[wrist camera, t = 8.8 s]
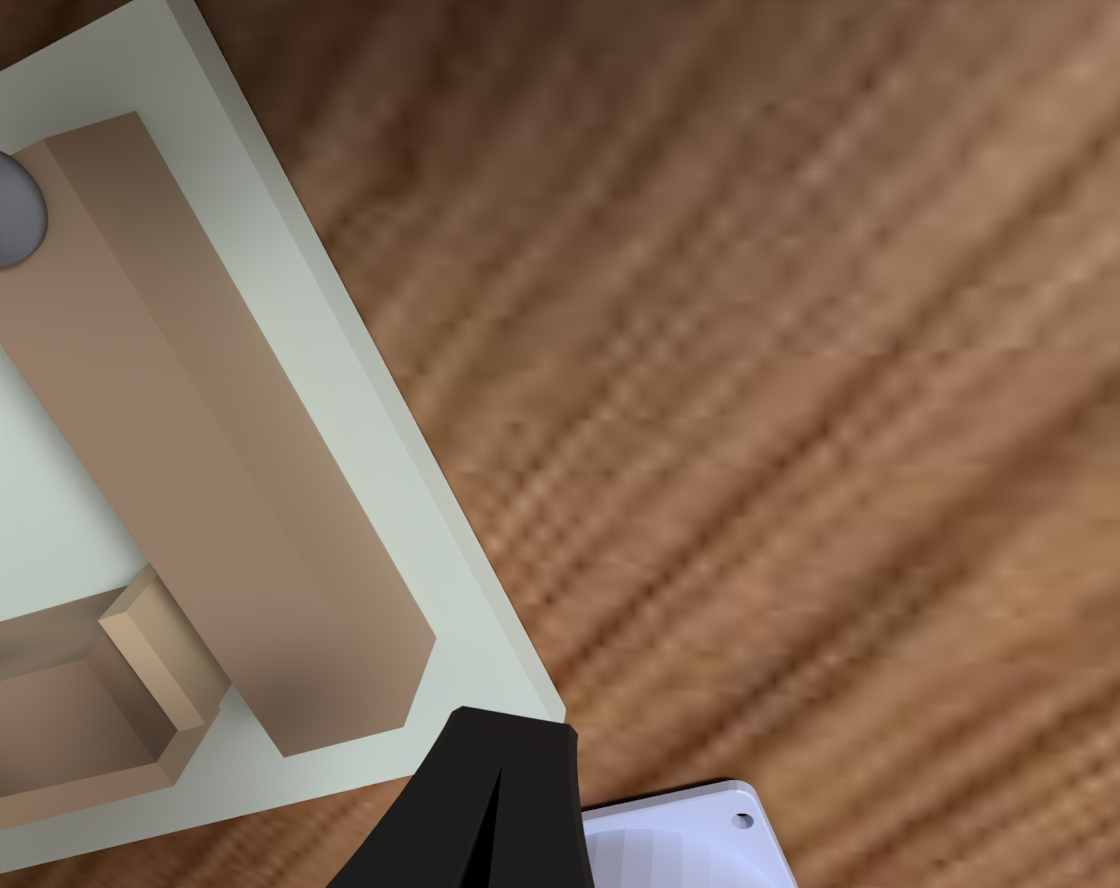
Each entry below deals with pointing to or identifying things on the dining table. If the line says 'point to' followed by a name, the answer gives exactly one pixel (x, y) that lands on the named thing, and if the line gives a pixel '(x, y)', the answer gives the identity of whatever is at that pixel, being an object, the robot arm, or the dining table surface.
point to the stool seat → (216, 454)
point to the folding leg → (71, 700)
